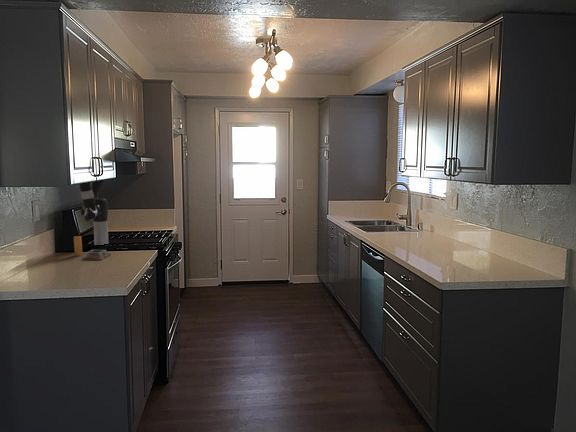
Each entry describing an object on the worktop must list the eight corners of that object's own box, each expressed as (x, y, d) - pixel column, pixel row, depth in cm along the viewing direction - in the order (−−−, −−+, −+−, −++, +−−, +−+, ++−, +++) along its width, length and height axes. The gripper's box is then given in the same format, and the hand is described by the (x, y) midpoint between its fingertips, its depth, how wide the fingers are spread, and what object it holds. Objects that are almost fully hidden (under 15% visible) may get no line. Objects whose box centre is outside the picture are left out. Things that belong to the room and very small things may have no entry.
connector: (76, 254, 303) (75, 236, 302) (83, 254, 303) (82, 236, 302) (73, 255, 299) (72, 237, 297) (80, 256, 299) (79, 237, 297)
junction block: (92, 254, 303) (91, 248, 302) (110, 254, 303) (110, 248, 302) (81, 260, 288) (81, 253, 287) (101, 260, 288) (101, 253, 287)
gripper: (100, 195, 314) (105, 219, 318) (82, 196, 318) (87, 219, 322) (93, 198, 307) (98, 222, 311) (75, 199, 311) (80, 222, 315)
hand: (93, 220), depth 317 cm, fingers open, 8 cm apart
